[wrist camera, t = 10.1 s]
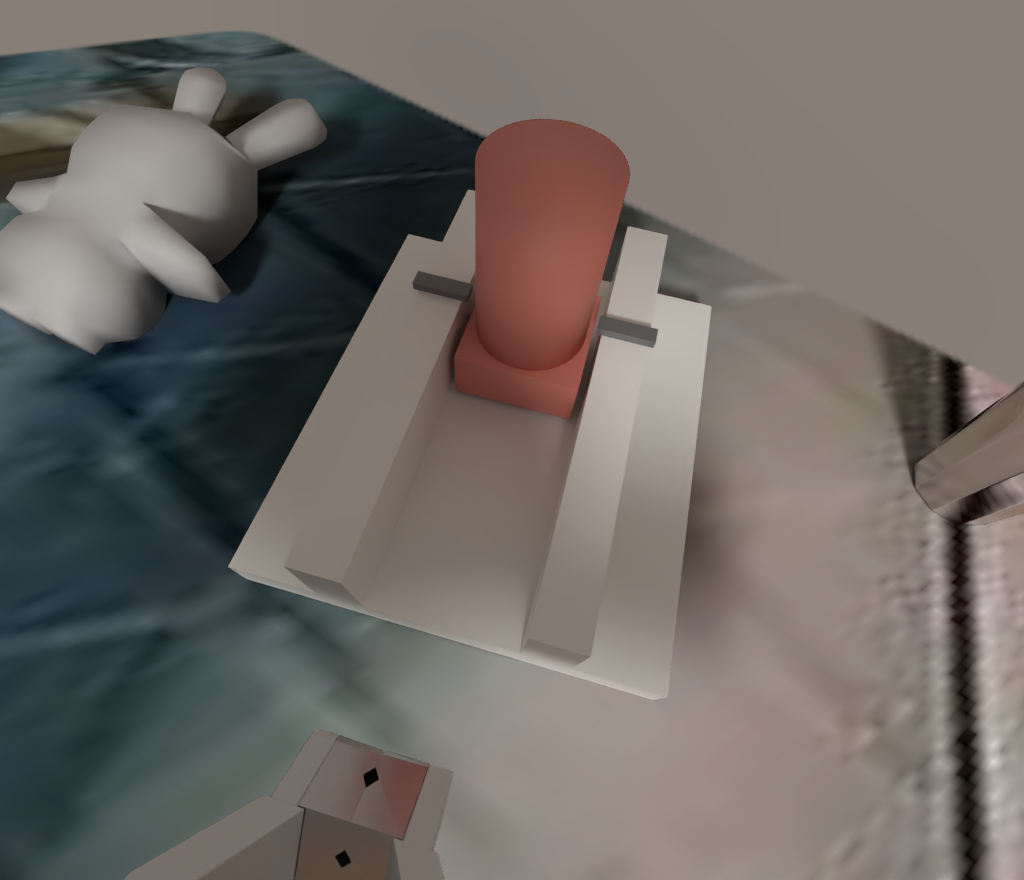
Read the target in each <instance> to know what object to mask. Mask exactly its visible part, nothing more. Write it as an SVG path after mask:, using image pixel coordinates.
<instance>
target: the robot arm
mask: <svg viewBox="0 0 1024 880" xmlns="http://www.w3.org/2000/svg"><path fill="white" fill-rule="evenodd" d="M453 773H454V772H453V771H451V770H448V769H445V768H441V767H438V766H435V765H432V764H430V763H427V762H423V761H420V760H417V759H413V758H410V757H407V756H403V755H400V754H397V753H393V752H390V751H387V750H385V751H384V750H381V749H378V748H375V747H372V746H369V745H366V744H364V743H361V742H358V741H355V740H352V739H349V738H346V737H344V736H341V735H337V734H334V733H331V732H328V731H325V730H322V729H319V728H317V729H316V730H315V731H314V732H313V733H312V734H311V735H310V737H309V738H308V740H307V741H306V743H305V744H304V746H303V747H302V749H301V750H300V752H299V753H298V755H297V757H296V758H295V760H294V761H293V763H292V764H291V766H290V767H289V769H288V770H287V772H286V773H285V775H284V777H283V778H282V780H281V781H280V783H279V784H278V786H277V787H276V789H275V790H274V792H273V793H272V795H271V797H267V796H264V795H263V796H261V797H259V798H257V799H256V800H254V801H252V802H251V803H249V804H247V805H245V806H244V807H242V808H240V809H239V810H237V811H235V812H233V813H232V814H230V815H228V816H226V817H225V818H223V819H221V820H220V821H218V822H216V823H214V824H213V825H211V826H209V827H208V828H206V829H204V830H202V831H201V832H199V833H197V834H196V835H194V836H192V837H190V838H189V839H187V840H185V841H184V842H182V843H180V844H178V845H177V846H175V847H173V848H172V849H170V850H168V851H166V852H165V853H163V854H161V855H160V856H158V857H156V858H154V859H153V860H151V861H149V862H147V863H146V864H144V865H142V866H141V867H139V868H137V869H135V870H134V871H132V872H130V873H129V875H128V876H127V877H126V878H125V880H445V878H444V874H443V870H442V866H441V862H440V858H439V854H438V853H437V852H434V848H435V844H436V840H437V836H438V832H439V829H440V825H441V821H442V817H443V813H444V809H445V805H446V801H447V797H448V793H449V789H450V785H451V782H452V778H453Z"/></svg>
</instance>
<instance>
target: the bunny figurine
mask: <svg viewBox="0 0 1024 880" xmlns="http://www.w3.org/2000/svg"><path fill="white" fill-rule="evenodd" d="M225 92H226V83H225V79H224V78H223V76H222V75H221V74H220V73H218V72H216V71H215V70H213V69H208V68H201V67H197V68H194V69H190V70H187V71H185V72H184V74H183V76H182V77H181V79H180V82H179V86H178V90H177V94H176V98H175V102H174V106H173V110H165V109H157V108H149V107H141V106H133V105H125V104H118V105H116V106H115V107H113V108H111V109H110V110H108V111H106V112H104V113H103V114H101V115H99V116H98V117H97V118H96V119H95V120H94V121H93V122H92V123H91V124H90V125H88V126H87V127H86V128H85V129H84V131H83V132H82V133H81V135H80V136H79V138H78V139H77V141H76V142H75V144H74V145H73V147H72V150H71V155H70V160H69V165H68V171H67V173H66V174H63V175H59V176H56V177H51V178H44V179H36V180H29V181H21V182H16V183H15V185H14V186H13V188H12V190H11V191H10V193H9V194H8V196H7V197H6V199H7V200H9V201H10V202H11V203H12V204H13V205H14V206H15V207H16V208H17V209H18V210H19V211H21V212H22V213H23V215H19V216H16V217H15V218H14V219H13V220H12V221H11V222H10V223H9V224H8V225H6V226H5V227H4V228H3V229H2V230H1V231H0V309H2V310H3V311H5V312H6V313H8V314H9V315H11V316H12V317H13V318H15V319H16V320H18V321H19V322H21V323H24V324H26V325H28V326H31V327H33V328H35V329H37V330H40V331H42V332H44V333H46V334H49V335H51V334H54V335H56V336H57V337H59V338H60V339H61V340H63V341H65V342H67V343H69V344H71V345H74V346H76V347H78V348H81V349H83V350H85V351H87V352H90V353H92V354H94V355H95V354H96V353H97V352H98V351H99V350H100V349H101V348H102V347H103V346H104V345H105V344H106V343H112V342H120V341H128V340H135V339H137V338H139V337H141V336H143V335H145V334H146V333H147V332H148V331H150V330H151V329H152V328H153V327H154V326H155V324H156V323H157V322H158V320H159V319H160V318H161V316H162V315H163V314H164V312H165V308H166V298H167V293H168V294H174V295H179V296H184V297H189V298H194V299H199V300H204V301H210V302H215V303H218V302H219V301H220V300H221V299H223V298H224V297H225V296H226V295H227V294H229V293H230V292H231V290H230V289H229V288H228V286H227V285H226V284H225V282H224V281H223V280H222V278H221V277H220V276H219V274H218V273H217V272H216V270H215V269H214V268H213V266H212V265H213V264H216V263H219V262H220V261H221V260H222V259H224V258H225V257H226V256H227V255H229V254H230V253H231V252H232V251H233V250H235V248H236V247H237V246H238V245H239V244H240V243H241V241H242V240H243V239H244V238H245V237H246V236H247V234H248V233H249V231H250V229H251V228H252V226H253V224H254V223H255V221H256V219H257V170H260V169H262V168H265V167H267V166H270V165H272V164H275V163H277V162H280V161H282V160H285V159H287V158H290V157H292V156H295V155H297V154H300V153H302V152H305V151H307V150H310V149H312V148H315V147H317V146H318V145H319V144H320V143H322V142H323V141H324V140H325V139H326V135H327V129H326V127H325V125H324V124H323V122H322V121H321V119H320V118H319V116H318V115H317V113H316V112H315V110H314V109H313V107H312V106H311V104H310V103H308V102H307V101H306V100H304V99H289V100H285V101H283V102H281V103H278V104H276V105H274V106H272V107H271V108H269V109H268V110H266V111H265V112H263V113H262V114H260V115H258V116H257V117H255V118H254V119H252V120H251V121H249V122H247V123H246V124H244V125H243V126H241V127H240V128H238V129H236V130H235V131H233V132H232V133H230V134H229V135H227V136H221V135H220V134H219V133H217V132H216V131H215V130H213V129H212V128H211V127H210V125H211V123H212V121H213V119H214V117H215V116H216V114H217V112H218V110H219V108H220V106H221V104H222V102H223V100H224V97H225Z"/></svg>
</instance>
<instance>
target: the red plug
mask: <svg viewBox="0 0 1024 880" xmlns="http://www.w3.org/2000/svg"><path fill="white" fill-rule="evenodd" d="M629 170H630V169H629V165H628V162H627V160H626V158H625V156H624V154H623V153H622V151H621V150H620V149H619V148H618V147H617V146H616V145H615V144H614V143H613V142H612V141H611V140H609V139H608V138H606V137H605V136H604V135H602V134H600V133H598V132H596V131H594V130H592V129H590V128H588V127H585V126H582V125H579V124H575V123H572V122H567V121H562V120H552V119H534V120H525V121H520V122H516V123H512V124H509V125H506V126H504V127H502V128H499V129H498V130H496V131H494V132H493V133H491V134H490V135H489V136H488V137H486V139H485V140H484V141H483V142H482V143H481V145H480V146H479V148H478V150H477V153H476V158H475V278H476V304H475V307H474V309H473V312H472V314H471V317H470V319H469V322H468V324H467V326H466V329H465V331H464V334H463V336H462V339H461V341H460V344H459V346H458V348H457V351H456V353H455V356H454V368H455V385H456V390H457V391H461V392H465V393H469V394H473V395H476V396H480V397H484V398H488V399H492V400H496V401H499V402H503V403H507V404H511V405H515V406H519V407H522V408H526V409H530V410H534V411H538V412H542V413H546V414H549V415H553V416H557V417H561V418H565V419H570V416H571V412H572V409H573V406H574V402H575V399H576V396H577V392H578V389H579V385H580V381H581V377H582V373H583V369H584V365H585V361H586V357H587V353H588V349H589V345H590V341H591V337H592V333H593V329H594V325H595V322H596V318H597V314H598V310H599V306H600V302H601V298H602V297H601V296H597V295H598V291H599V288H600V284H601V281H602V277H603V273H604V270H605V266H606V263H607V259H608V255H609V252H610V248H611V244H612V241H613V237H614V234H615V230H616V226H617V223H618V219H619V216H620V212H621V208H622V205H623V201H624V198H625V193H626V190H627V187H628V183H629V178H630V171H629Z"/></svg>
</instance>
